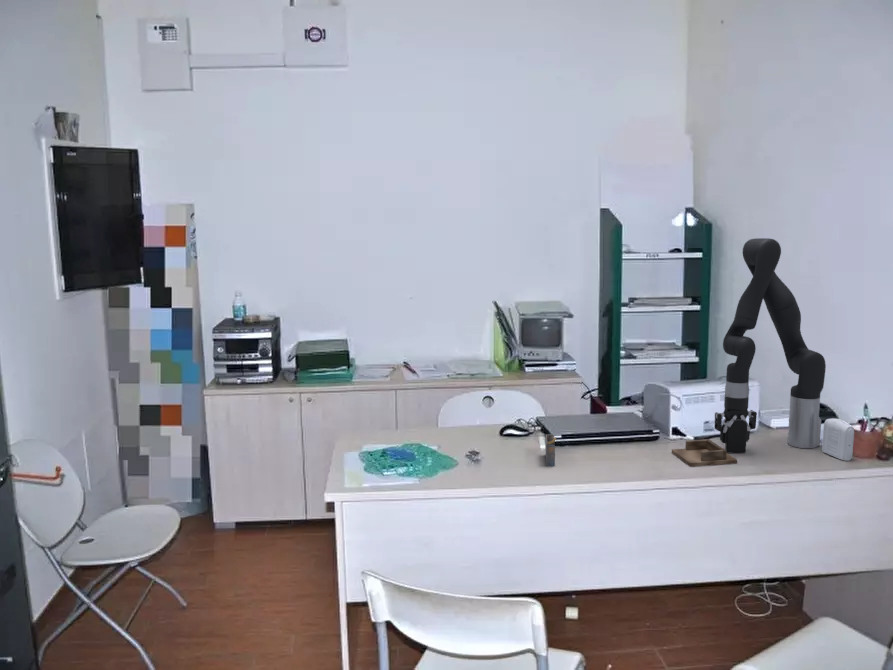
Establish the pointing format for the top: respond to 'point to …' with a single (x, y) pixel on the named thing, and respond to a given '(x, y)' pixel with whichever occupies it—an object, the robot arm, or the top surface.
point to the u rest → (703, 454)
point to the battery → (736, 437)
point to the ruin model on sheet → (550, 450)
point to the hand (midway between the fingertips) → (734, 441)
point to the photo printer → (838, 439)
